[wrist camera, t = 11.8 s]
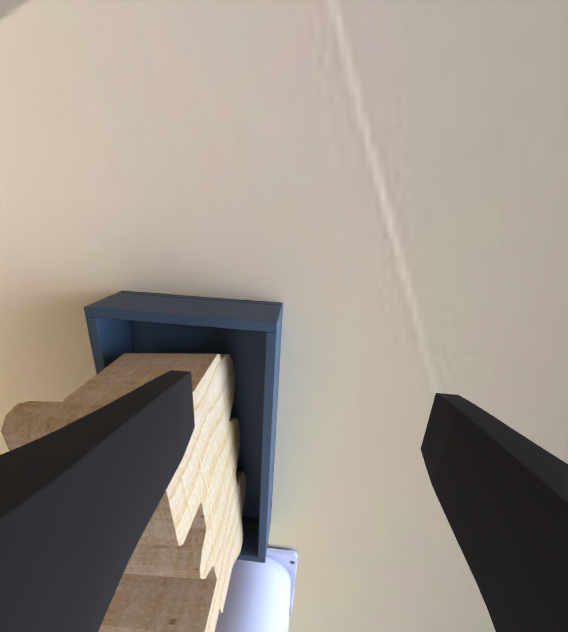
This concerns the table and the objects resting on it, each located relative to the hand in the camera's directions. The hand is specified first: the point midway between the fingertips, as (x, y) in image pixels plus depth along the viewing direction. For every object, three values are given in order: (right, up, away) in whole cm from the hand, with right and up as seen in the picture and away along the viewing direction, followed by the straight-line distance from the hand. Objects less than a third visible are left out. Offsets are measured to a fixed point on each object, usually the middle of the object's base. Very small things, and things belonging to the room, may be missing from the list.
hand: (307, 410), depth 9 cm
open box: (-7, -5, +13) cm, 16 cm away
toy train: (-7, -5, +13) cm, 16 cm away
